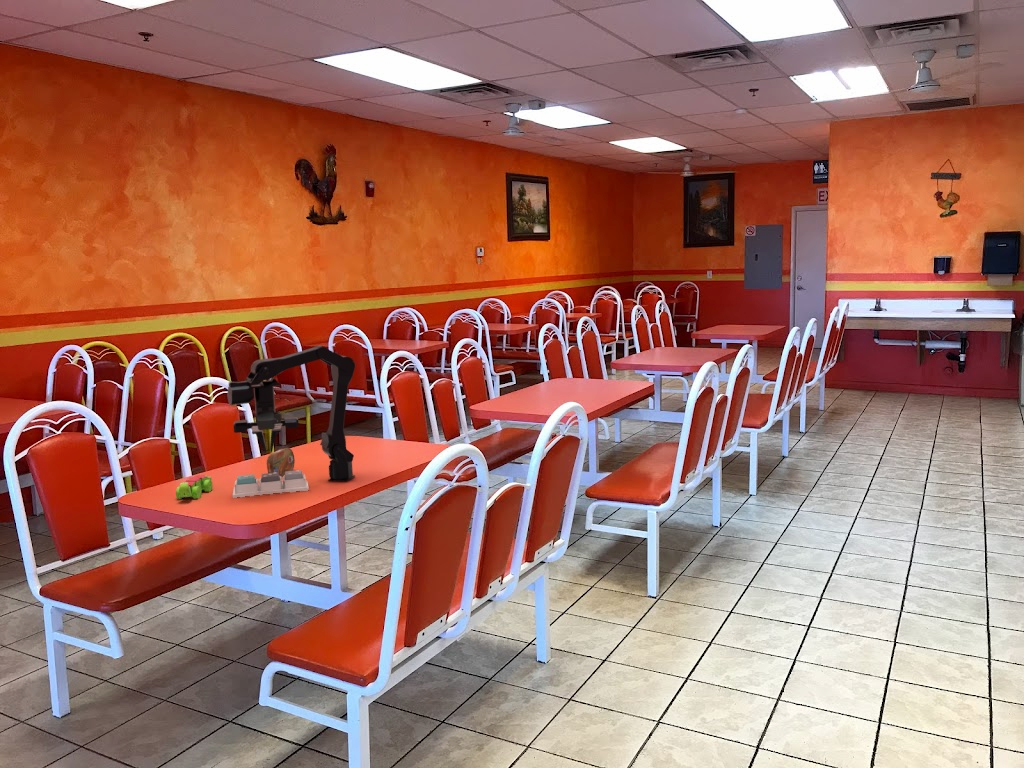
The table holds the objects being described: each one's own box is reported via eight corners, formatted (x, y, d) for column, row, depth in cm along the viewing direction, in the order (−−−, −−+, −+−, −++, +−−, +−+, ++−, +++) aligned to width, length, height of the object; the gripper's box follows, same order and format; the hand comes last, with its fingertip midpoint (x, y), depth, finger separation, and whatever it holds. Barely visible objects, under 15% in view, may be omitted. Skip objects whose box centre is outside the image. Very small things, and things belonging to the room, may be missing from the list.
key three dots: (278, 480, 259) (278, 471, 259) (279, 483, 254) (278, 475, 254) (262, 481, 257) (261, 473, 257) (262, 485, 253) (261, 476, 252)
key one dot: (255, 482, 257) (254, 473, 257) (255, 486, 252) (254, 477, 252) (238, 484, 256) (237, 475, 255) (237, 487, 251) (237, 479, 250)
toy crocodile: (198, 487, 264) (196, 468, 264) (219, 486, 264) (217, 467, 263) (169, 504, 245) (168, 484, 244) (192, 504, 244) (190, 483, 244)
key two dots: (302, 477, 261) (301, 469, 260) (302, 481, 256) (302, 473, 256) (285, 479, 259) (285, 471, 259) (286, 483, 255) (285, 474, 254)
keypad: (307, 483, 263) (306, 472, 263) (308, 490, 255) (308, 479, 254) (233, 490, 257) (233, 479, 257) (232, 498, 249) (232, 486, 248)
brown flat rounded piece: (275, 481, 268) (273, 455, 267) (266, 481, 269) (264, 455, 268) (296, 470, 283) (294, 445, 282) (287, 469, 284) (285, 445, 283)
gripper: (231, 407, 242) (235, 460, 244) (297, 403, 247) (301, 454, 249) (232, 402, 253) (236, 453, 255) (296, 398, 258) (299, 447, 260)
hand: (268, 452), depth 255 cm, fingers closed
